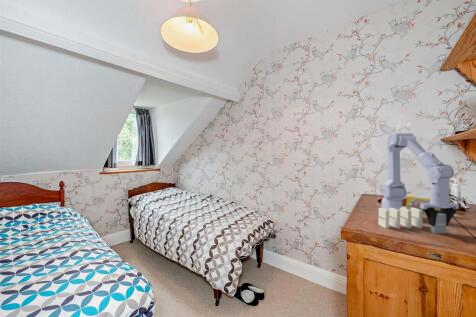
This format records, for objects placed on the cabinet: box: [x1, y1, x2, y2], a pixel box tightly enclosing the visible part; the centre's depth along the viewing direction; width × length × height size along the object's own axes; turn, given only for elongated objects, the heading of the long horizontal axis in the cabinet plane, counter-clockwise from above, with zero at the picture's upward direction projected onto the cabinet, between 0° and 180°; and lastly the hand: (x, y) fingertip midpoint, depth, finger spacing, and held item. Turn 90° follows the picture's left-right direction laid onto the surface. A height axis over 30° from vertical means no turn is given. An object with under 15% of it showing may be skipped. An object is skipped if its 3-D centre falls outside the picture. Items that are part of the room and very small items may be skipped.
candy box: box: [405, 195, 441, 214], centre depth 120 cm, size 16×2×8 cm, turn 37°
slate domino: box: [430, 214, 447, 234], centre depth 92 cm, size 2×5×8 cm, turn 90°
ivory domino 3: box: [400, 207, 412, 229], centre depth 100 cm, size 2×5×8 cm, turn 0°
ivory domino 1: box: [378, 207, 390, 229], centre depth 100 cm, size 2×5×8 cm, turn 0°
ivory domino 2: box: [389, 208, 401, 229], centre depth 100 cm, size 2×5×8 cm, turn 0°
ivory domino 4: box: [410, 208, 424, 229], centre depth 100 cm, size 2×5×8 cm, turn 0°
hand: (438, 225), depth 92 cm, fingers closed on slate domino, 5 cm apart
